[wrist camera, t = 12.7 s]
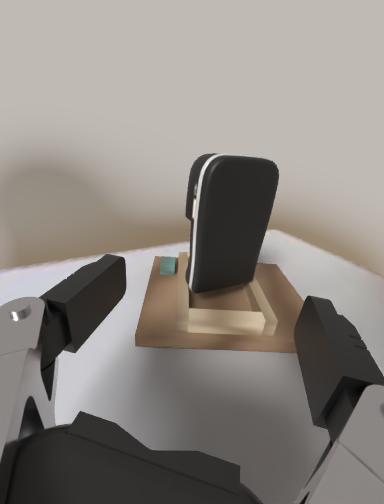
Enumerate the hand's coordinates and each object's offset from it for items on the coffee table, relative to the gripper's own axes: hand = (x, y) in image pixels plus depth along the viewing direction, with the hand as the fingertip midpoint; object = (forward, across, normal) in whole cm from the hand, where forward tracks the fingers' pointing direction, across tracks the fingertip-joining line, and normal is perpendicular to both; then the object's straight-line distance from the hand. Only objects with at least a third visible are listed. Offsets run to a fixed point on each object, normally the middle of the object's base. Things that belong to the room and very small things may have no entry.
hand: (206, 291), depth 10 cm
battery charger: (+11, 0, +6) cm, 13 cm away
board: (+12, -1, +9) cm, 15 cm away
